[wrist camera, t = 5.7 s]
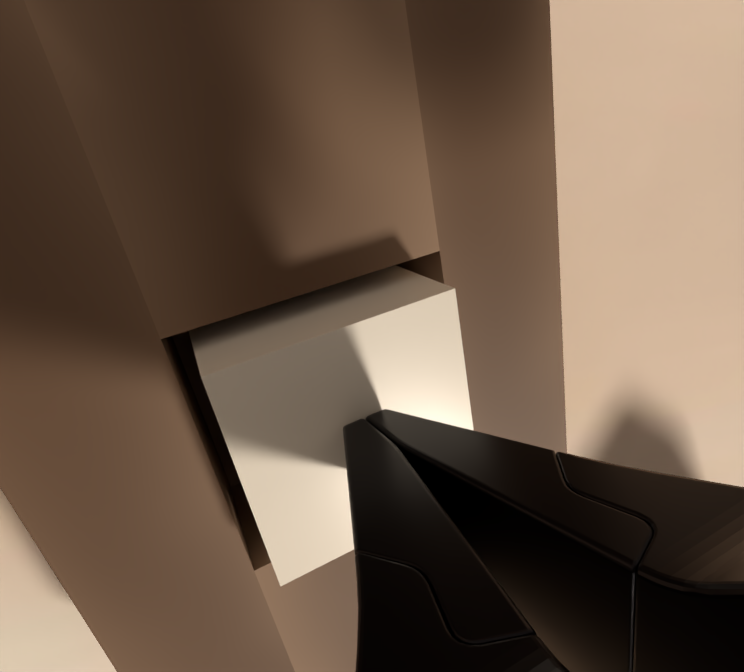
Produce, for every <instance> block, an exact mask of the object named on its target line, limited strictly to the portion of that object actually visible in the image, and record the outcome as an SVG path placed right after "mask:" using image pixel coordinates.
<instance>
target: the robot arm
mask: <svg viewBox="0 0 744 672" xmlns="http://www.w3.org/2000/svg"><path fill="white" fill-rule="evenodd" d="M343 438H344V449H345V459H346V470H347V480H348V491H349V501H350V512H351V522H352V533H353V543H354V554H355V568H356V578H357V598H358V628H357V655H356V670H355V672H744V487H739V486H733V485H727V484H721V483H715V482H710V481H704V480H698V479H692V478H686V477H680V476H675V475H669V474H663V473H657V472H652V471H646V470H641V469H636V468H630V467H625V466H620V465H615V464H610V463H606V462H601V461H597V460H593V459H588V458H584V457H579V456H575V455H571V454H567V453H563V452H557V453H555V451H554V450H551V449H546V448H542V447H538V446H534V445H530V444H526V443H522V442H518V441H514V440H510V439H506V438H502V437H498V436H494V435H490V434H486V433H482V432H478V431H474V430H469V429H465V428H461V427H457V426H453V425H449V424H445V423H441V422H437V421H433V420H429V419H425V418H421V417H417V416H413V415H409V414H405V413H401V412H396V411H392V410H388V409H383V410H381V411H378V412H376V413H373V414H371V415H369V416H367V417H366V419H359V420H357V421H354V422H352V423H350V424H347V425H345V426H344V427H343Z"/></svg>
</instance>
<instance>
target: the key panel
mask: <svg viewBox="0 0 744 672" xmlns="http://www.w3.org/2000/svg"><path fill="white" fill-rule="evenodd" d="M394 265H396V266H399V267H401V268H404V269H406V270H409V271H412V272H414V273H417V274H419V275H422V276H425V277H427V278H430V279H432V280H435V281H437V282H440V283H443V284H445V285H448V286H450V287H453V288H455V291H456V298H457V306H458V314H459V321H460V329H461V337H462V345H463V352H464V360H465V368H466V375H467V383H468V391H469V398H470V406H471V414H472V421H473V429H474V431H478V432H482V433H486V434H490V435H494V436H498V437H502V438H506V439H510V440H514V441H518V442H522V443H526V444H530V445H534V446H538V447H542V448H546V449H551V450H554V451H555V453H557V452H563V453H567V445H566V419H565V393H564V367H563V341H562V315H561V289H560V263H559V237H558V211H557V185H556V159H555V133H554V107H553V81H552V56H551V30H550V4H549V0H0V488H1V490H2V491H3V493H4V494H5V496H6V497H7V499H8V501H9V502H10V504H11V505H12V507H13V508H14V510H15V512H16V513H17V515H18V516H19V518H20V519H21V521H22V523H23V524H24V526H25V527H26V529H27V531H28V532H29V534H30V535H31V537H32V538H33V540H34V542H35V543H36V545H37V546H38V548H39V549H40V551H41V553H42V554H43V556H44V557H45V559H46V560H47V562H48V564H49V565H50V567H51V568H52V570H53V571H54V573H55V575H56V576H57V578H58V579H59V581H60V582H61V584H62V586H63V587H64V589H65V590H66V592H67V594H68V595H69V597H70V598H71V600H72V601H73V603H74V605H75V606H76V608H77V609H78V611H79V612H80V614H81V616H82V617H83V619H84V620H85V622H86V623H87V625H88V627H89V628H90V630H91V631H92V633H93V634H94V636H95V638H96V639H97V641H98V642H99V644H100V645H101V647H102V649H103V650H104V652H105V653H106V655H107V657H108V658H109V660H110V661H111V663H112V664H113V666H114V668H115V669H116V671H117V672H355V670H356V655H357V628H358V598H357V578H356V568H355V554H354V550H352V551H350V552H348V553H346V554H344V555H342V556H340V557H338V558H336V559H334V560H332V561H330V562H328V563H326V564H324V565H322V566H320V567H318V568H316V569H314V570H312V571H310V572H308V573H306V574H304V575H302V576H300V577H298V578H296V579H294V580H292V581H291V582H289V583H287V584H285V585H283V586H280V584H279V581H278V579H277V576H276V573H275V571H274V568H273V565H272V563H271V560H270V558H269V555H268V552H267V550H266V547H265V544H264V542H263V539H262V537H261V534H260V531H259V529H258V526H257V523H256V521H255V518H254V515H253V513H252V510H251V508H250V505H249V502H248V500H247V497H246V494H245V492H244V489H243V487H242V484H241V481H240V479H239V476H238V473H237V471H236V468H235V465H234V463H233V460H232V458H231V455H230V452H229V450H228V447H227V444H226V442H225V439H224V437H223V434H222V431H221V429H220V426H219V423H218V421H217V418H216V415H215V413H214V410H213V408H212V405H211V402H210V400H209V397H208V394H207V392H206V389H205V387H204V384H203V381H202V379H201V376H200V372H199V368H198V364H197V361H196V357H195V353H194V350H193V346H192V342H191V339H190V335H189V330H192V329H195V328H198V327H201V326H205V325H208V324H211V323H214V322H217V321H220V320H223V319H227V318H230V317H233V316H236V315H239V314H242V313H245V312H249V311H252V310H255V309H258V308H261V307H264V306H268V305H271V304H274V303H277V302H280V301H283V300H286V299H290V298H293V297H296V296H299V295H302V294H305V293H308V292H312V291H315V290H318V289H321V288H324V287H327V286H331V285H334V284H337V283H340V282H343V281H346V280H349V279H353V278H356V277H359V276H362V275H365V274H368V273H371V272H375V271H378V270H381V269H384V268H387V267H390V266H394Z"/></svg>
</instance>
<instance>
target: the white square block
mask: <svg viewBox="0 0 744 672" xmlns="http://www.w3.org/2000/svg"><path fill="white" fill-rule="evenodd" d="M189 335H190V339H191V342H192V346H193V350H194V353H195V357H196V361H197V364H198V368H199V372H200V376H201V379H202V381H203V384H204V387H205V389H206V392H207V394H208V397H209V400H210V402H211V405H212V408H213V410H214V413H215V415H216V418H217V421H218V423H219V426H220V429H221V431H222V434H223V437H224V439H225V442H226V444H227V447H228V450H229V452H230V455H231V458H232V460H233V463H234V465H235V468H236V471H237V473H238V476H239V479H240V481H241V484H242V487H243V489H244V492H245V494H246V497H247V500H248V502H249V505H250V508H251V510H252V513H253V515H254V518H255V521H256V523H257V526H258V529H259V531H260V534H261V537H262V539H263V542H264V544H265V547H266V550H267V552H268V555H269V558H270V560H271V563H272V565H273V568H274V571H275V573H276V576H277V579H278V581H279V584H280V586H283V585H285V584H287V583H289V582H291V581H292V580H294V579H296V578H298V577H300V576H302V575H304V574H306V573H308V572H310V571H312V570H314V569H316V568H318V567H320V566H322V565H324V564H326V563H328V562H330V561H332V560H334V559H336V558H338V557H340V556H342V555H344V554H346V553H348V552H350V551H352V550H354V543H353V533H352V522H351V512H350V501H349V491H348V480H347V470H346V459H345V449H344V438H343V427H344V426H345V425H347V424H350V423H352V422H354V421H357V420H359V419H366V417H367V416H369V415H371V414H373V413H376V412H378V411H381V410H383V409H388V410H392V411H396V412H401V413H405V414H409V415H413V416H417V417H421V418H425V419H429V420H433V421H437V422H441V423H445V424H449V425H453V426H457V427H461V428H465V429H469V430H474V429H473V421H472V414H471V406H470V398H469V391H468V383H467V375H466V368H465V360H464V352H463V345H462V337H461V329H460V321H459V314H458V306H457V298H456V291H455V288H453V287H450V286H448V285H445V284H443V283H440V282H437V281H435V280H432V279H430V278H427V277H425V276H422V275H419V274H417V273H414V272H412V271H409V270H406V269H404V268H401V267H399V266H396V265H394V266H390V267H387V268H384V269H381V270H378V271H375V272H371V273H368V274H365V275H362V276H359V277H356V278H353V279H349V280H346V281H343V282H340V283H337V284H334V285H331V286H327V287H324V288H321V289H318V290H315V291H312V292H308V293H305V294H302V295H299V296H296V297H293V298H290V299H286V300H283V301H280V302H277V303H274V304H271V305H268V306H264V307H261V308H258V309H255V310H252V311H249V312H245V313H242V314H239V315H236V316H233V317H230V318H227V319H223V320H220V321H217V322H214V323H211V324H208V325H205V326H201V327H198V328H195V329H192V330H189Z"/></svg>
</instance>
